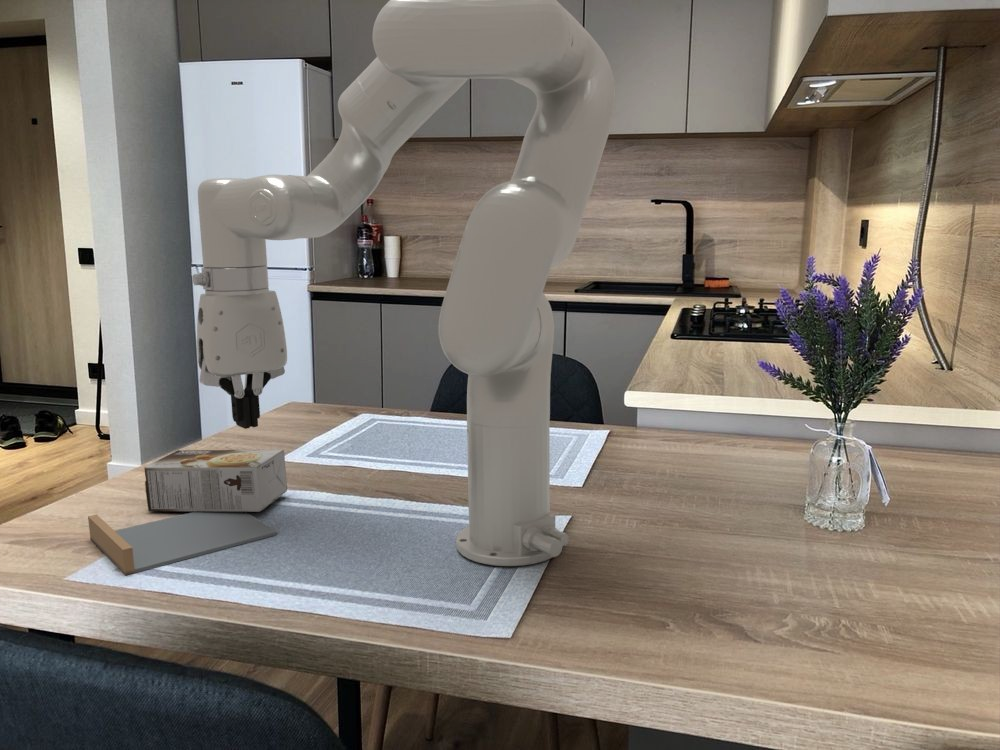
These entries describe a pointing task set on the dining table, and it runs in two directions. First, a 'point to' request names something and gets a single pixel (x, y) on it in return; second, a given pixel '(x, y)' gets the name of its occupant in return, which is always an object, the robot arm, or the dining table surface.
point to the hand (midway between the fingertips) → (246, 425)
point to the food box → (216, 480)
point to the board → (175, 538)
